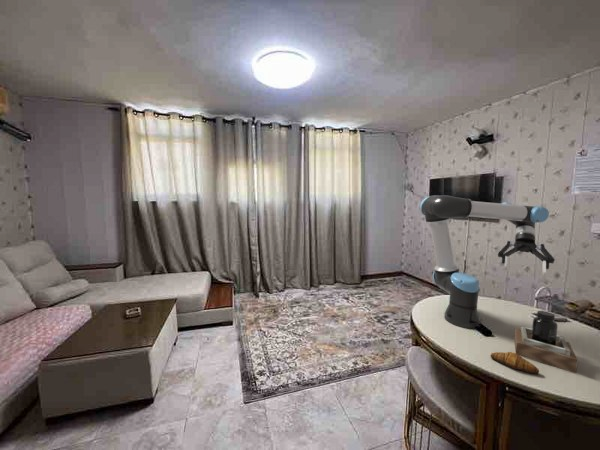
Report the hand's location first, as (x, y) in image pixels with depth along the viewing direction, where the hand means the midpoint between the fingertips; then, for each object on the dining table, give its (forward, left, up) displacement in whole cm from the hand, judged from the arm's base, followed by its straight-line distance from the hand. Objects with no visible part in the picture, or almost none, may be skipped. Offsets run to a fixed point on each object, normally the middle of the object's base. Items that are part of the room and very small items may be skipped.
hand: (524, 271), depth 114 cm
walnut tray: (+6, -23, -28) cm, 36 cm away
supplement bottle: (+6, -22, -23) cm, 33 cm away
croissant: (-3, -39, -28) cm, 48 cm away
